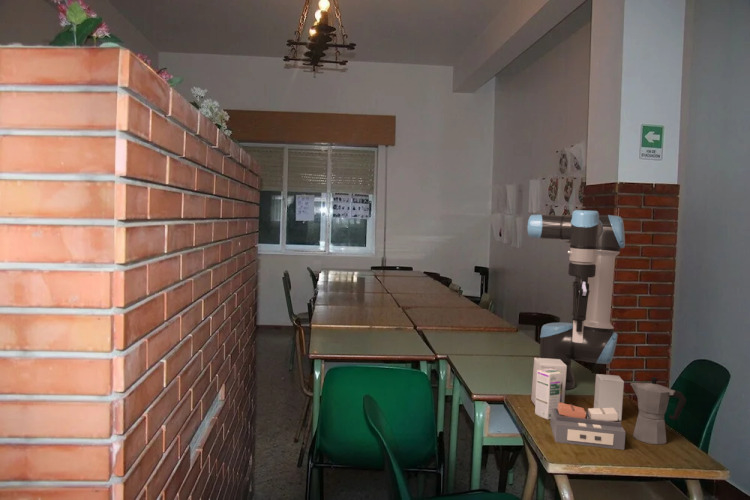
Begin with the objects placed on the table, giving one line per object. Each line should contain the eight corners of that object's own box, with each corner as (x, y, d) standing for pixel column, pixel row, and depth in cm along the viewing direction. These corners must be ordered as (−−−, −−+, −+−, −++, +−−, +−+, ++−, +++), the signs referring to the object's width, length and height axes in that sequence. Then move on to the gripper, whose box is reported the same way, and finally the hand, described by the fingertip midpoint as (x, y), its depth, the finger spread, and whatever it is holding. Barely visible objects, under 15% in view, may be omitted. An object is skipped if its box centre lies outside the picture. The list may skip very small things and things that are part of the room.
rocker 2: (588, 415, 168) (587, 407, 168) (613, 414, 167) (613, 406, 167) (591, 421, 163) (590, 413, 163) (617, 420, 162) (617, 412, 162)
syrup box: (547, 420, 179) (550, 373, 178) (534, 413, 184) (536, 368, 183) (561, 417, 181) (564, 372, 180) (547, 411, 186) (550, 367, 185)
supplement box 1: (536, 408, 189) (539, 363, 188) (530, 400, 198) (533, 357, 197) (564, 410, 188) (567, 365, 187) (557, 401, 197) (560, 358, 196)
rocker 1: (557, 408, 170) (558, 401, 169) (581, 414, 168) (583, 407, 168) (559, 414, 165) (561, 406, 164) (584, 420, 163) (586, 412, 163)
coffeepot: (619, 435, 168) (624, 374, 167) (633, 428, 175) (637, 369, 174) (675, 452, 157) (681, 387, 156) (688, 444, 164) (693, 382, 163)
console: (550, 424, 175) (551, 404, 174) (613, 431, 171) (614, 410, 171) (555, 442, 161) (557, 420, 160) (624, 450, 157) (626, 428, 157)
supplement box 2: (621, 421, 180) (624, 381, 180) (596, 418, 182) (599, 379, 181) (616, 413, 188) (619, 375, 187) (592, 411, 189) (595, 373, 188)
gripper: (565, 260, 176) (560, 336, 178) (572, 264, 164) (567, 346, 166) (591, 261, 175) (586, 337, 177) (600, 265, 162) (595, 348, 164)
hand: (577, 341), depth 171 cm, fingers closed
